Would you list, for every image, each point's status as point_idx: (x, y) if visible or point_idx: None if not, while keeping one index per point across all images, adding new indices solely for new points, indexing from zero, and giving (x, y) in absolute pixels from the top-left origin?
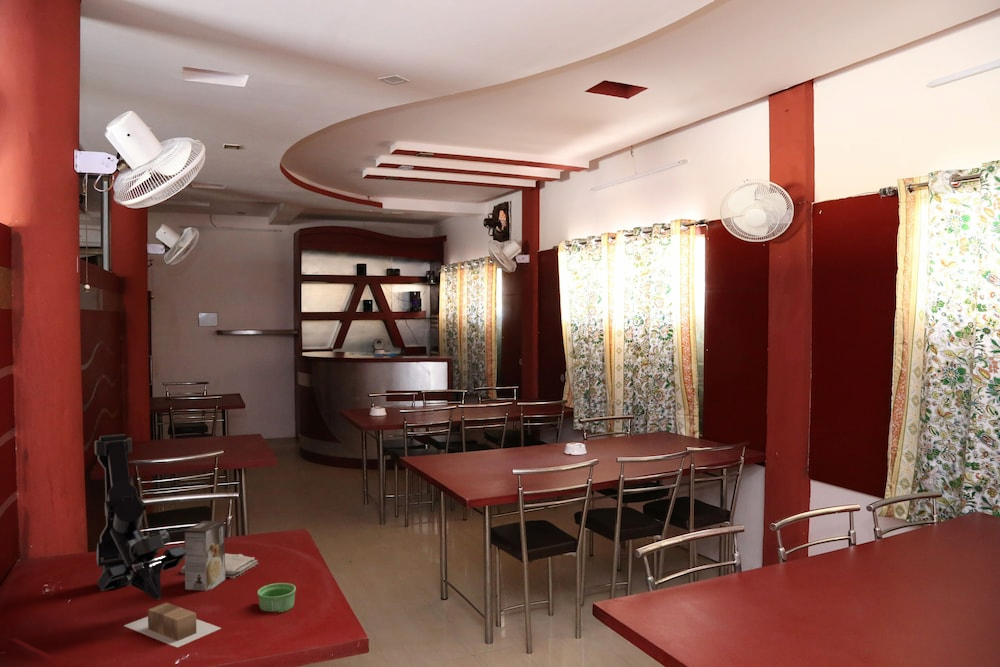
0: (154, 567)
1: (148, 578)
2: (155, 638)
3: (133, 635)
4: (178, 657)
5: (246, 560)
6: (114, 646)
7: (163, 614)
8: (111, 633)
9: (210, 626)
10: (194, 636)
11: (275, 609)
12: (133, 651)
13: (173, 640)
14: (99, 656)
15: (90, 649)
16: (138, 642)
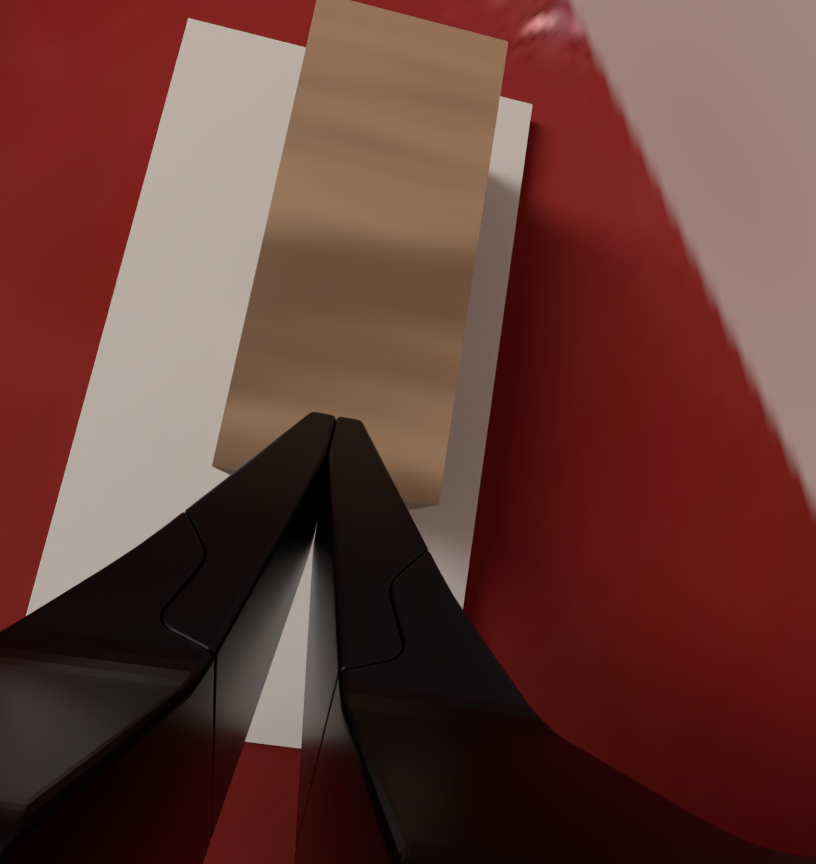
0: (81, 792)
1: (409, 651)
2: (501, 328)
3: (492, 563)
4: (584, 53)
5: None
6: (661, 537)
7: (468, 251)
8: None
9: (192, 106)
10: None
11: None
12: (651, 356)
13: None
14: (787, 502)
15: (760, 654)
16: (553, 432)
